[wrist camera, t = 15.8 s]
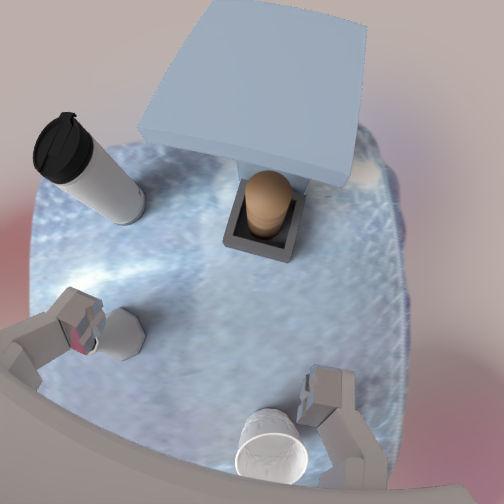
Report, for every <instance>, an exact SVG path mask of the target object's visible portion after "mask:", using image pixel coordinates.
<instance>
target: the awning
mask: <svg viewBox="0 0 504 504" xmlns="http://www.w3.org/2000/svg"><path fill="white" fill-rule="evenodd" d="M366 38H367V26H365V25H362V24H359V23H356V22H353V21H349V20H346V19H342V18H339V17H335V16H331V15H328V14H324V13H320V12H315V11H311V10H306V9H302V8H297V7H292V6H287V5H281V4H275V3H268V2H262V1H254V0H213V1H212V3H211V4H210V6H209V7H208V8H207V10H206V11H205V12H204V14H203V15H202V17H201V18H200V20H199V21H198V22H197V24H196V25H195V27H194V28H193V30H192V32H191V33H190V34H189V36H188V38H187V39H186V41H185V42H184V44H183V45H182V47H181V48H180V50H179V52H178V54H177V55H176V57H175V58H174V60H173V62H172V63H171V65H170V67H169V68H168V70H167V72H166V73H165V75H164V77H163V79H162V81H161V82H160V84H159V86H158V88H157V90H156V91H155V93H154V95H153V97H152V99H151V101H150V103H149V105H148V107H147V109H146V111H145V113H144V114H143V117H142V118H141V121H140V123H139V125H138V127H137V129H138V130H139V132H140V133H141V135H142V136H143V138H144V140H145V141H146V142H147V143H153V144H159V145H165V146H170V147H176V148H181V149H186V150H191V151H196V152H201V153H206V154H211V155H216V156H220V157H225V158H229V159H234V160H237V166H238V174H239V181H241V178H242V179H246V180H249V179H250V178H251V177H252V176H253V175H254V174H256V173H258V172H261V171H265V170H270V171H276V172H278V173H280V174H282V175H283V176H285V177H286V178H287V180H288V181H289V183H290V185H291V188H292V192H296V193H300V194H303V193H304V191H305V188H306V186H307V184H308V182H309V179H312V180H316V181H319V182H323V183H326V184H330V185H333V186H336V187H340V188H342V186H343V185H344V183H345V182H346V181H347V179H348V178H349V176H350V173H351V167H352V161H353V155H354V148H355V141H356V134H357V127H358V119H359V112H360V103H361V95H362V85H363V75H364V64H365V52H366Z"/></svg>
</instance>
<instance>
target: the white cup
mask: <svg viewBox="0 0 504 504" xmlns="http://www.w3.org/2000/svg"><path fill="white" fill-rule="evenodd" d="M308 462H309V457H308V452H307V450H306V448H305V446H304V444H303V441H302V439H301V437H300V435H299V433H298V431H297V429H296V428H295V426H294V424H293V423H292V421H291V420H290V418H289V417H288V416H287V414H285V413H283V412H281V411H280V410H278V409H268V408H265V409H262V410H259V411H256V412H254V413H253V414H252V415H251V416H250V417H248V418H247V420H246V423H245V425H244V428H243V430H242V434H241V437H240V441H239V445H238V450H237V454H236V459H235V466H236V470H237V472H238V474H239V475H240V476H245V477H250V478H255V479H260V480H265V481H271V482H277V483H284V484H292V483H294V482H296V481H297V480H298V479H299V478H300V477H301V476H302V475H303V474H304V472H305V471H306V469H307V466H308Z"/></svg>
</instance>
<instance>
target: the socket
mask: <svg viewBox="0 0 504 504" xmlns="http://www.w3.org/2000/svg"><path fill="white" fill-rule="evenodd" d="M248 181H249V180H246V179H242V178H241V181H240V185H239V188H238V191H237V194H236V198H235V201H234V204H233V207H232V211H231V214H230V217H229V221H228V224H227V227H226V230H225V234H224V237H223V243H224V245H225V247H229V248H233V249H236V250H240V251H244V252H248V253H251V254H255V255H259V256H262V257H266V258H270V259H273V260H277V261H281V262H285V263H288V262H289V260H290V259H291V255H292V251H293V247H294V243H295V239H296V235H297V231H298V227H299V223H300V218H301V214H302V210H303V206H304V202H305V198H306V195H303V194H300V193H296V192H292V198H291V201H290V204H289V207H288V210H287V212H286V215H285V218H284V221H283V224H282V227H281V229H280V232H279V233H278V234H277V235H276V236H275V237H274V238H272V239H269V240H260V239H258V238H256V237H254V236H253V235H252V234H251V233H250V231H249V229H248V223H247V210H246V197H245V188H246V185H247V182H248Z"/></svg>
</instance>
